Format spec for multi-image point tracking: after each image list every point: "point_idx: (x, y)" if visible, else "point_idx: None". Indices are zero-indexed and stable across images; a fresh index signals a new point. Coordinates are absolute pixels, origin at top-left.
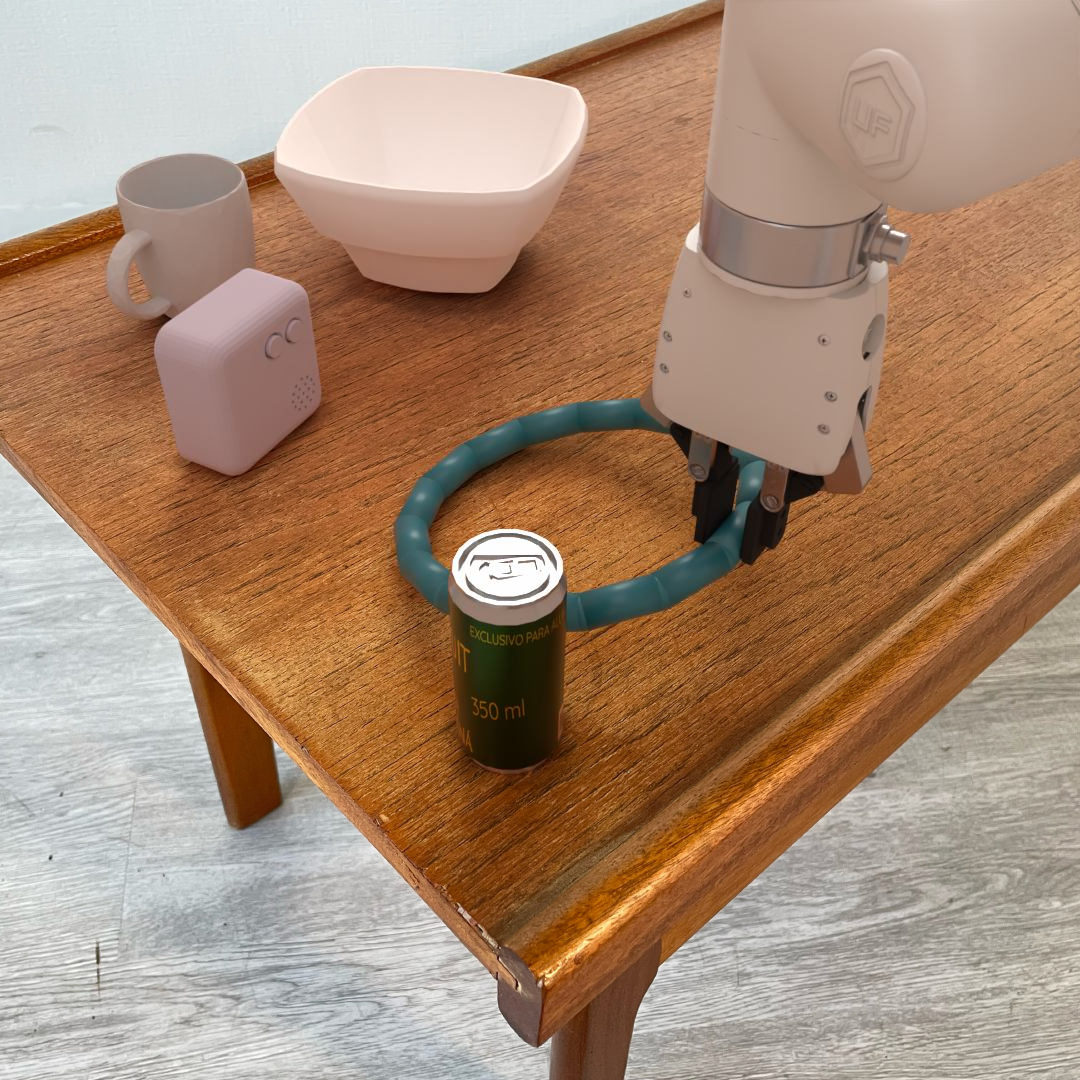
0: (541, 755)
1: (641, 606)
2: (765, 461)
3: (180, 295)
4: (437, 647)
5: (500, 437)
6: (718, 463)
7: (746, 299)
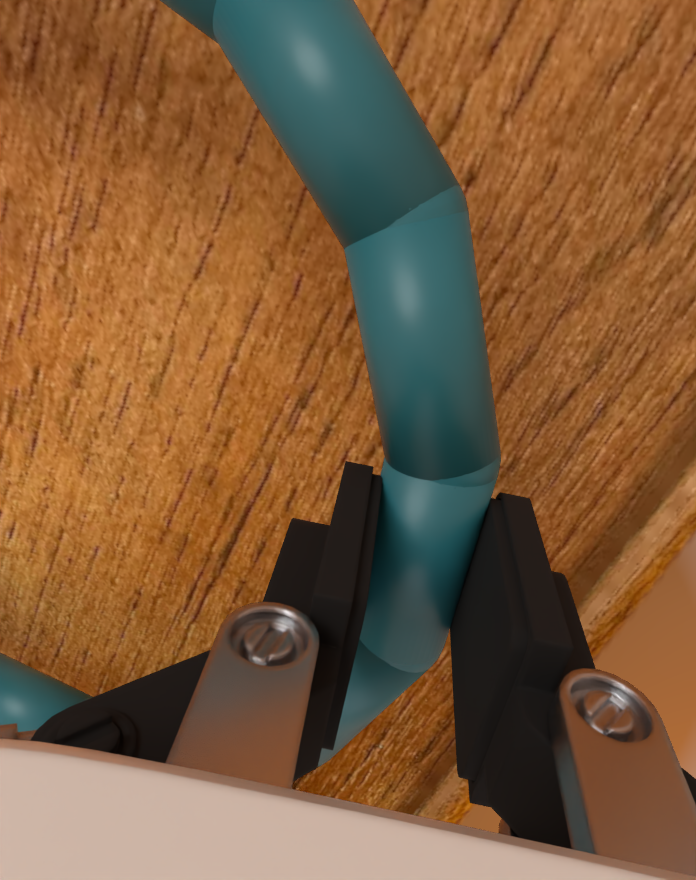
0: None
1: None
2: (420, 204)
3: None
4: (29, 644)
5: None
6: (301, 759)
7: None
